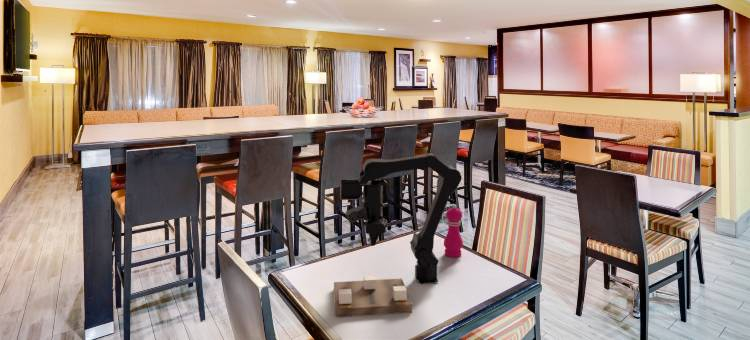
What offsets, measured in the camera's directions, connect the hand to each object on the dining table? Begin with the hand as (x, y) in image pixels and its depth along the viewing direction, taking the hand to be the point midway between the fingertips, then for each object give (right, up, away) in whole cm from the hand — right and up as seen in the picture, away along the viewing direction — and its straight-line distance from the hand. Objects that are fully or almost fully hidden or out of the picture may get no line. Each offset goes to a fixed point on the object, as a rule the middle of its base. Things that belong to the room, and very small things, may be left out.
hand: (372, 245), depth 143 cm
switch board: (-1, -15, -9) cm, 18 cm away
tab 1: (-8, -13, -16) cm, 22 cm away
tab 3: (+8, -13, -14) cm, 21 cm away
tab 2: (-1, -12, -7) cm, 14 cm away
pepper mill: (+31, -8, +26) cm, 41 cm away
